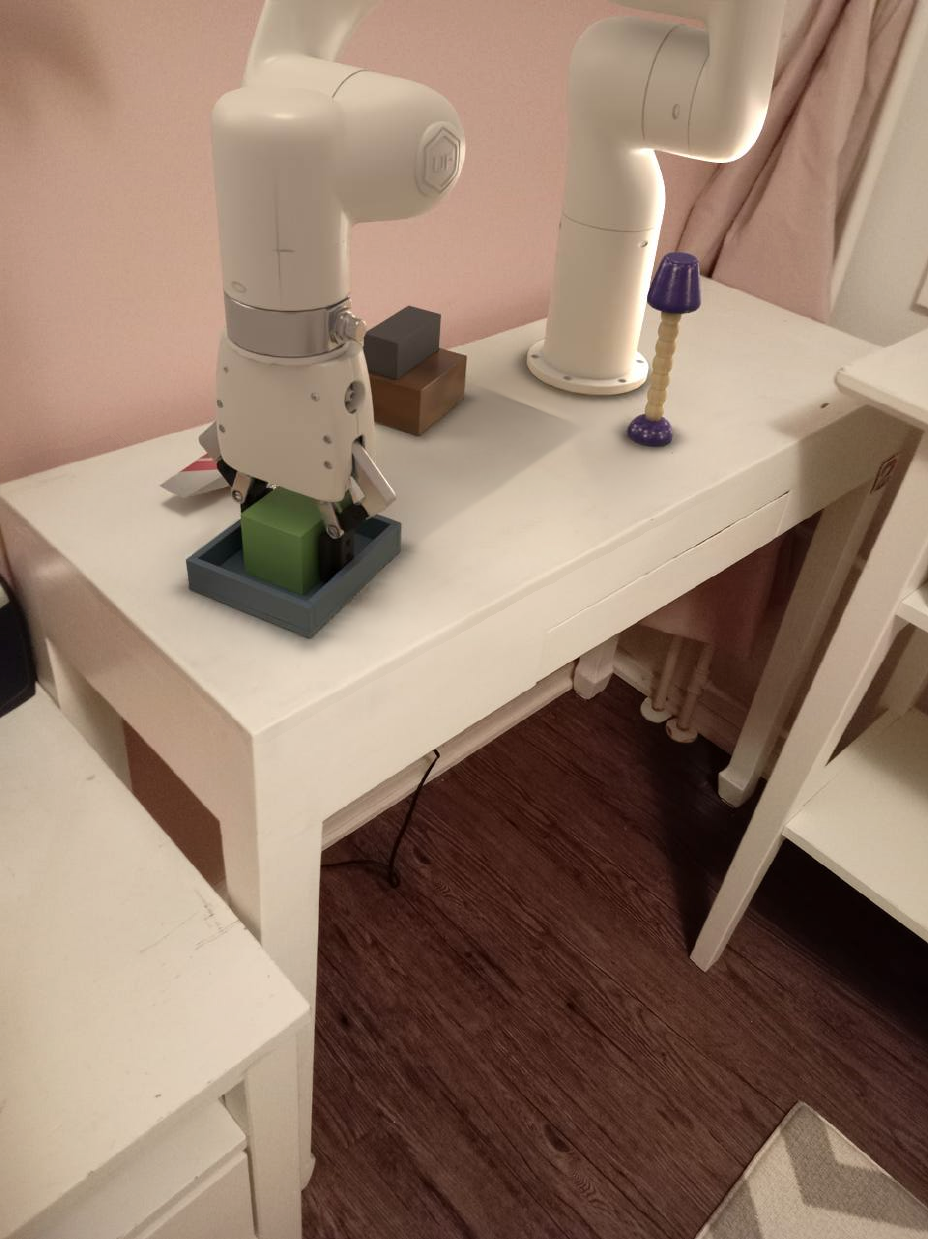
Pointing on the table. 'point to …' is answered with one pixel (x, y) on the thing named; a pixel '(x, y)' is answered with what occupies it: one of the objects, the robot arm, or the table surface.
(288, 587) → the green block
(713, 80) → the robot arm
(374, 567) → the tray
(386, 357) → the charcoal block
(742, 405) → the table surface
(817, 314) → the table surface
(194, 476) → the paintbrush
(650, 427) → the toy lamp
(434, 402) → the walnut block
